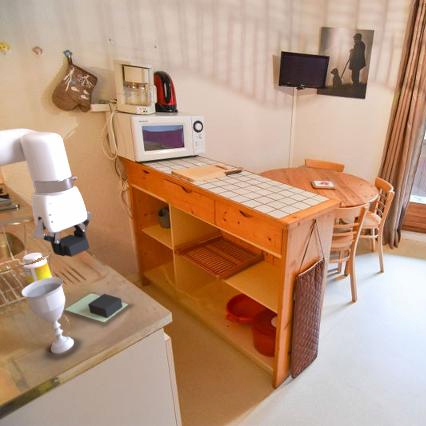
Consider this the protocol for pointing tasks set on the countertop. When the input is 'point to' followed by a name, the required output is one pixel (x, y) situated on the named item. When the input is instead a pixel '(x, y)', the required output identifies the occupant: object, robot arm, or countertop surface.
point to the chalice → (49, 307)
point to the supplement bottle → (36, 268)
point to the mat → (83, 308)
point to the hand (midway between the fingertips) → (71, 249)
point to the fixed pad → (105, 305)
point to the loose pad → (74, 245)
